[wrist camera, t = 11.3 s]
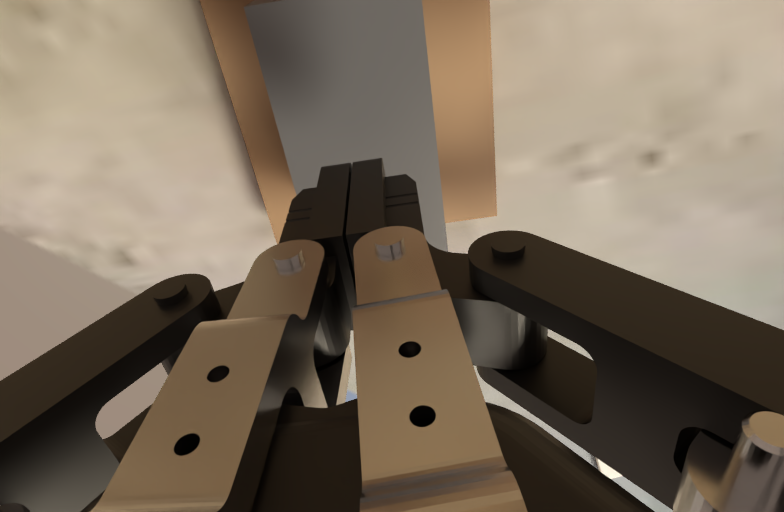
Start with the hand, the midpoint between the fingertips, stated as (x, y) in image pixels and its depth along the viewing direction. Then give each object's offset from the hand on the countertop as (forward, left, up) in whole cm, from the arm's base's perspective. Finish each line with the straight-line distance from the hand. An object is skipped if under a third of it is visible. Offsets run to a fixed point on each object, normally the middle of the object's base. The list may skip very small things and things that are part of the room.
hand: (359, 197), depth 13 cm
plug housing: (0, 0, -8) cm, 8 cm away
